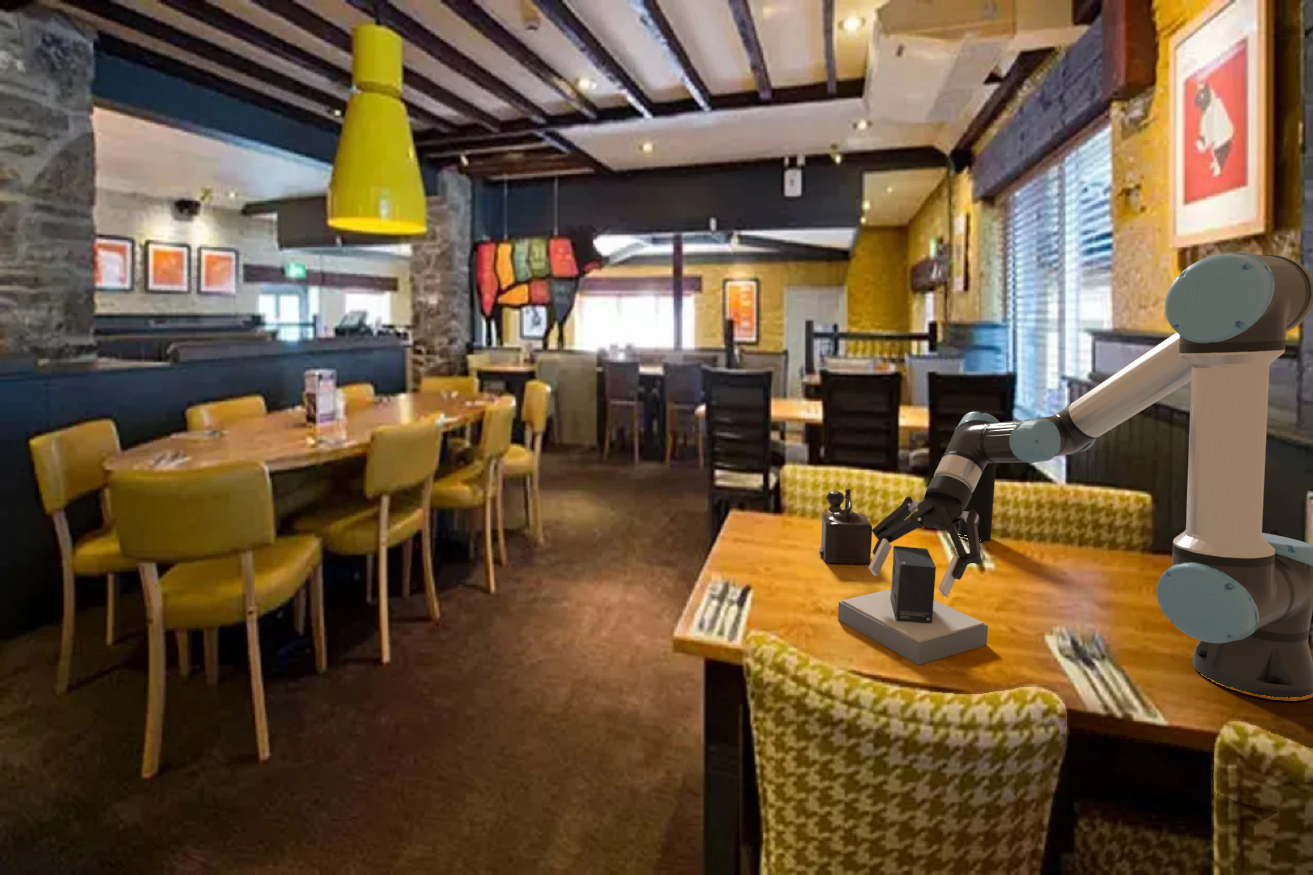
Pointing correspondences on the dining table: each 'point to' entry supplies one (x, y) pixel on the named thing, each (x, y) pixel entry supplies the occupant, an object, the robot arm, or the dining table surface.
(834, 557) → the pepper mill
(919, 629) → the stand
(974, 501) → the wine bottle
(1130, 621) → the dining table surface
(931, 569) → the small box
